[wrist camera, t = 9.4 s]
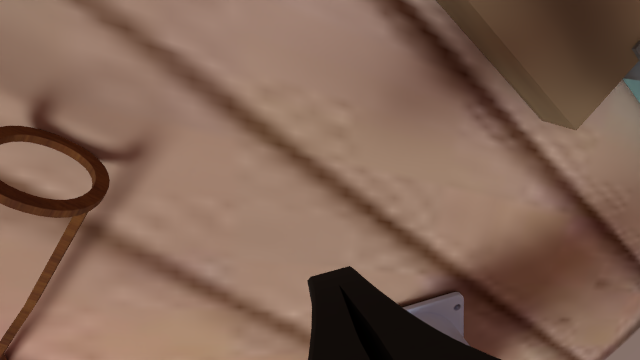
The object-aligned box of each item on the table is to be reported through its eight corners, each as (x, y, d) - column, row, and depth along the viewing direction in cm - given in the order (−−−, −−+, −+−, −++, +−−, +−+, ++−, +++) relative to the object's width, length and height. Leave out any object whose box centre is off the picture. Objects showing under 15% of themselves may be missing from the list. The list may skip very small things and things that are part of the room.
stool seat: (553, -228, 17) (608, -270, 14) (728, 101, 26) (780, 108, 23) (405, -35, 18) (434, -44, 16) (622, 212, 27) (661, 230, 25)
